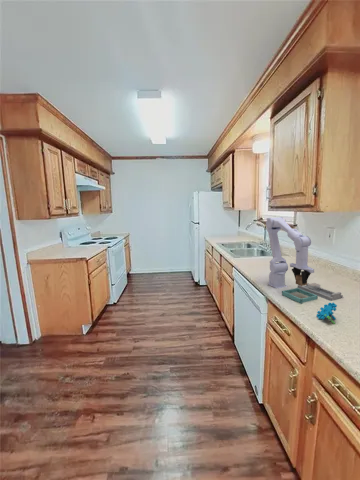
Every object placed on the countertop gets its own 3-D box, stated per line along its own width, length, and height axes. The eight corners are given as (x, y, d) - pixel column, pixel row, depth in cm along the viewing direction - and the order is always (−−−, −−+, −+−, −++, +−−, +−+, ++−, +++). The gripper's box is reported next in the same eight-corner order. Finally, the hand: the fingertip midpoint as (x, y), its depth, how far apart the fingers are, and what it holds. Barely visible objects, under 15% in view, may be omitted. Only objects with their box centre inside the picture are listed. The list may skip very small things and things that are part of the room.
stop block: (295, 283, 132) (295, 275, 132) (300, 282, 134) (301, 274, 133) (301, 286, 129) (301, 277, 128) (306, 284, 130) (307, 276, 129)
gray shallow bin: (296, 288, 146) (296, 283, 145) (308, 286, 149) (308, 280, 148) (330, 302, 125) (330, 295, 124) (343, 298, 128) (344, 292, 127)
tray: (281, 295, 136) (281, 291, 136) (297, 291, 140) (297, 287, 140) (301, 304, 124) (301, 299, 123) (317, 300, 128) (317, 295, 127)
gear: (315, 308, 114) (333, 298, 109) (324, 317, 113) (343, 307, 108) (315, 322, 105) (335, 310, 100) (326, 332, 104) (347, 321, 99)
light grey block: (307, 290, 141) (307, 284, 140) (314, 288, 142) (314, 282, 142) (313, 292, 137) (313, 286, 136) (320, 290, 139) (320, 284, 138)
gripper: (319, 260, 123) (317, 285, 125) (296, 255, 137) (295, 277, 139) (309, 261, 121) (308, 287, 123) (287, 256, 134) (286, 279, 137)
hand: (300, 282), depth 131 cm, fingers closed on stop block, 4 cm apart
